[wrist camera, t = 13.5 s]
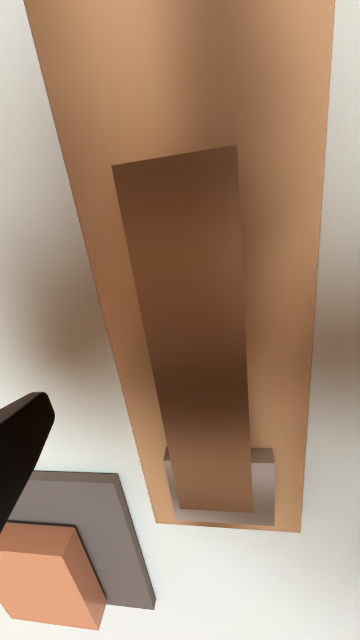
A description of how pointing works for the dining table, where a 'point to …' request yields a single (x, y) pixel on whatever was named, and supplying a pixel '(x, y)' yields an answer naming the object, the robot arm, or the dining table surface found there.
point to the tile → (48, 577)
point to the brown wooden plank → (197, 330)
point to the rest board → (195, 135)
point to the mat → (92, 529)
